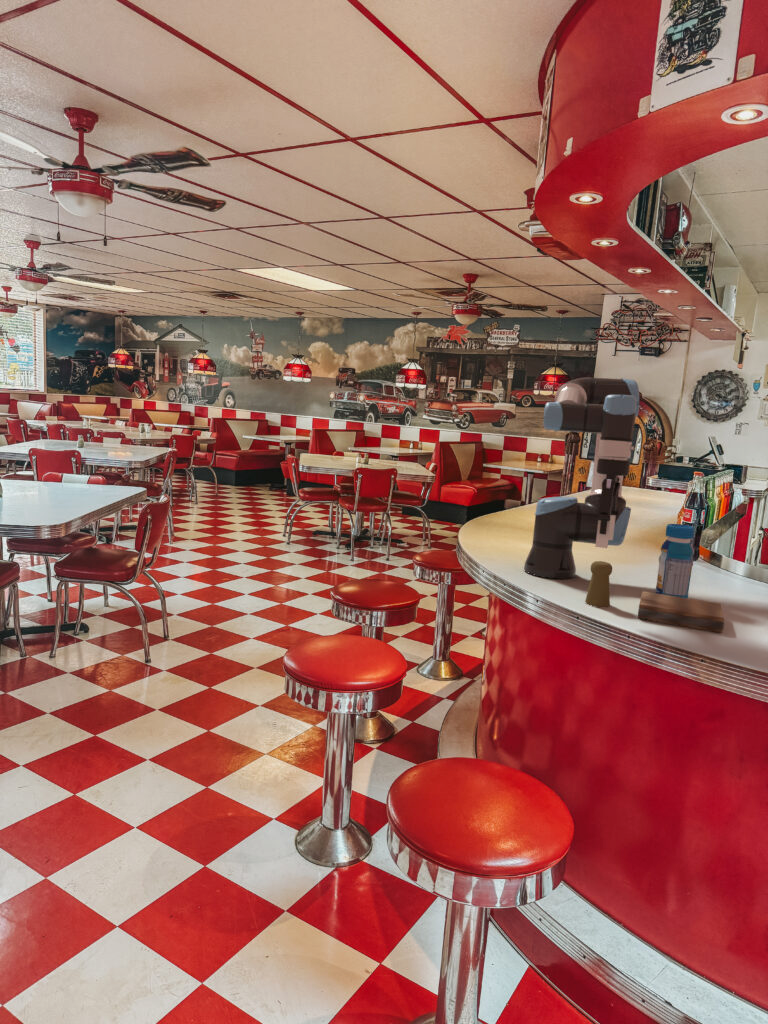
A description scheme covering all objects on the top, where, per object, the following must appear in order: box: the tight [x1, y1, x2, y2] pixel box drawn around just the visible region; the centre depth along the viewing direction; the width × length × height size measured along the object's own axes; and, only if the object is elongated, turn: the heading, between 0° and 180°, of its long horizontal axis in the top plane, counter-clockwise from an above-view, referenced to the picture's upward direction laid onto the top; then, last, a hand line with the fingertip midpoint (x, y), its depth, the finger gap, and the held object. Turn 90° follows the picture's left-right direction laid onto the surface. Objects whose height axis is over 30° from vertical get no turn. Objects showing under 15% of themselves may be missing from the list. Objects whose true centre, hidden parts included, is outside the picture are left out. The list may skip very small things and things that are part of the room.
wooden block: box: [637, 591, 725, 634], centre depth 155 cm, size 18×15×4 cm
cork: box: [584, 560, 613, 608], centre depth 163 cm, size 6×6×11 cm
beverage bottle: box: [654, 523, 695, 599], centre depth 172 cm, size 8×8×20 cm
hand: (604, 543), depth 161 cm, fingers open, 13 cm apart
